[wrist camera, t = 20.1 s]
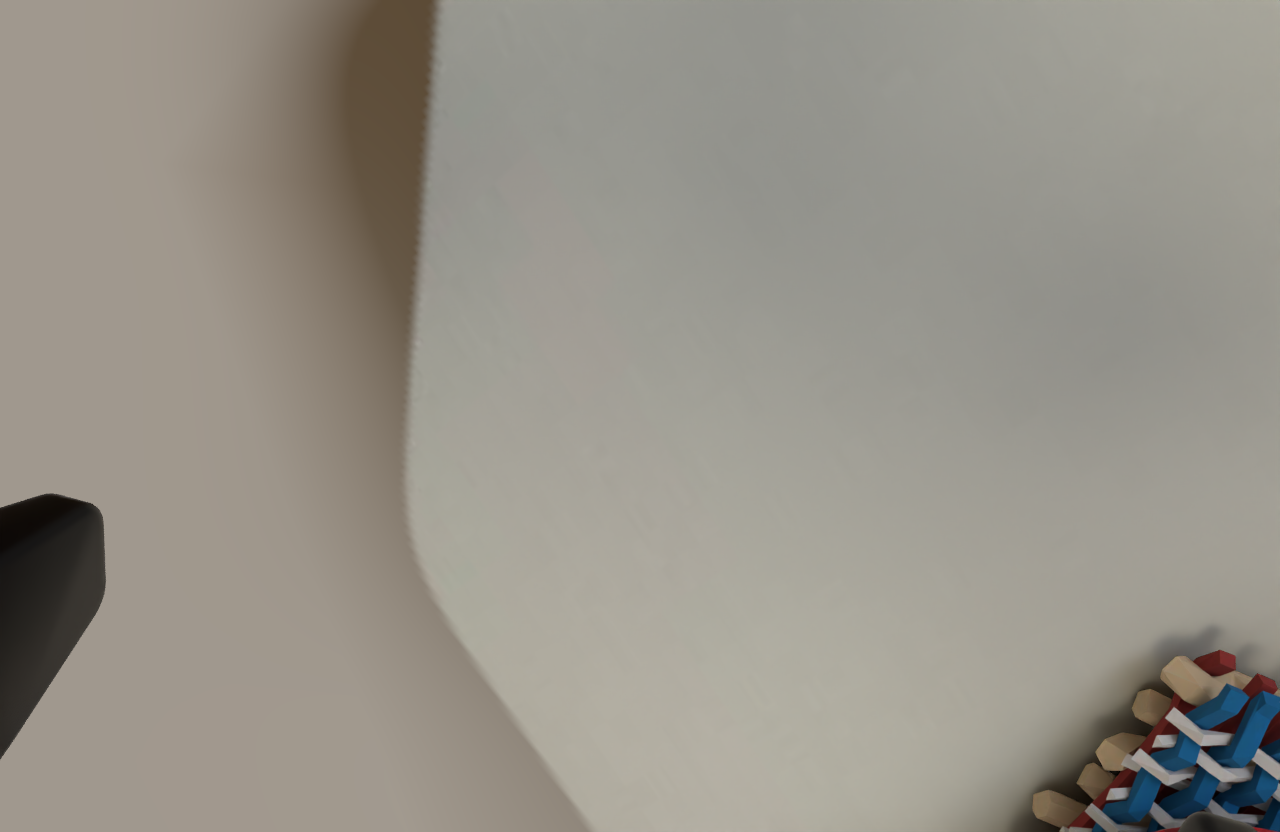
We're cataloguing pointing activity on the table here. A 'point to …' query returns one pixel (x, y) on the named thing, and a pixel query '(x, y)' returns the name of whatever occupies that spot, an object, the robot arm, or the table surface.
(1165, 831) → the soda can
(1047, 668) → the table surface
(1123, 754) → the woven mat
